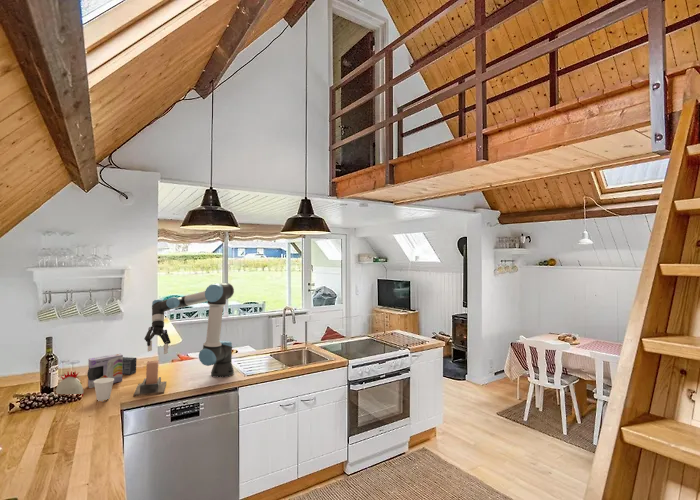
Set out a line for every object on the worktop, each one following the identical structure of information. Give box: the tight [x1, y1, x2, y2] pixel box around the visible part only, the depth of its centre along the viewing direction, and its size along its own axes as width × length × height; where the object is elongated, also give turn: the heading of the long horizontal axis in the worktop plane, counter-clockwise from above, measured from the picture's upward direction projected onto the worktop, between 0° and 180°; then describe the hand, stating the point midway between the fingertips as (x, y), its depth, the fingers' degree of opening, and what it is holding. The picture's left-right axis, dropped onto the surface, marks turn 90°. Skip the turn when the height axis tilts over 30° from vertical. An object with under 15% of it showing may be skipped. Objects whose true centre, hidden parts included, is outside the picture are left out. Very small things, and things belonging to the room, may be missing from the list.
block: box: [145, 360, 159, 384], centre depth 244 cm, size 6×6×14 cm
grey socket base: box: [132, 376, 167, 398], centre depth 238 cm, size 16×20×6 cm
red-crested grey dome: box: [55, 370, 84, 397], centre depth 223 cm, size 14×14×15 cm
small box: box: [122, 356, 138, 376], centre depth 268 cm, size 11×6×10 cm, turn 84°
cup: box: [94, 378, 114, 402], centre depth 220 cm, size 10×10×11 cm
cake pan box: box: [86, 353, 124, 389], centre depth 245 cm, size 19×5×18 cm, turn 137°
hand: (157, 352), depth 257 cm, fingers open, 13 cm apart
